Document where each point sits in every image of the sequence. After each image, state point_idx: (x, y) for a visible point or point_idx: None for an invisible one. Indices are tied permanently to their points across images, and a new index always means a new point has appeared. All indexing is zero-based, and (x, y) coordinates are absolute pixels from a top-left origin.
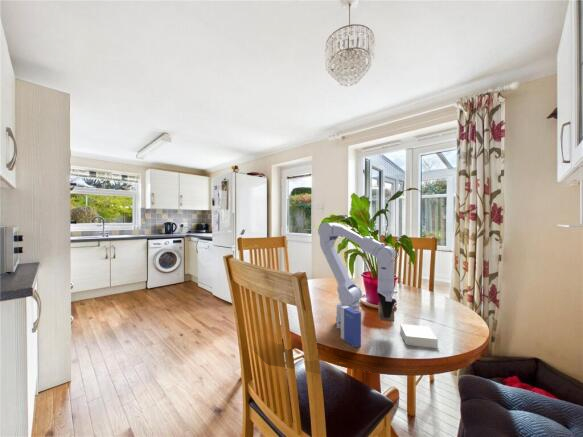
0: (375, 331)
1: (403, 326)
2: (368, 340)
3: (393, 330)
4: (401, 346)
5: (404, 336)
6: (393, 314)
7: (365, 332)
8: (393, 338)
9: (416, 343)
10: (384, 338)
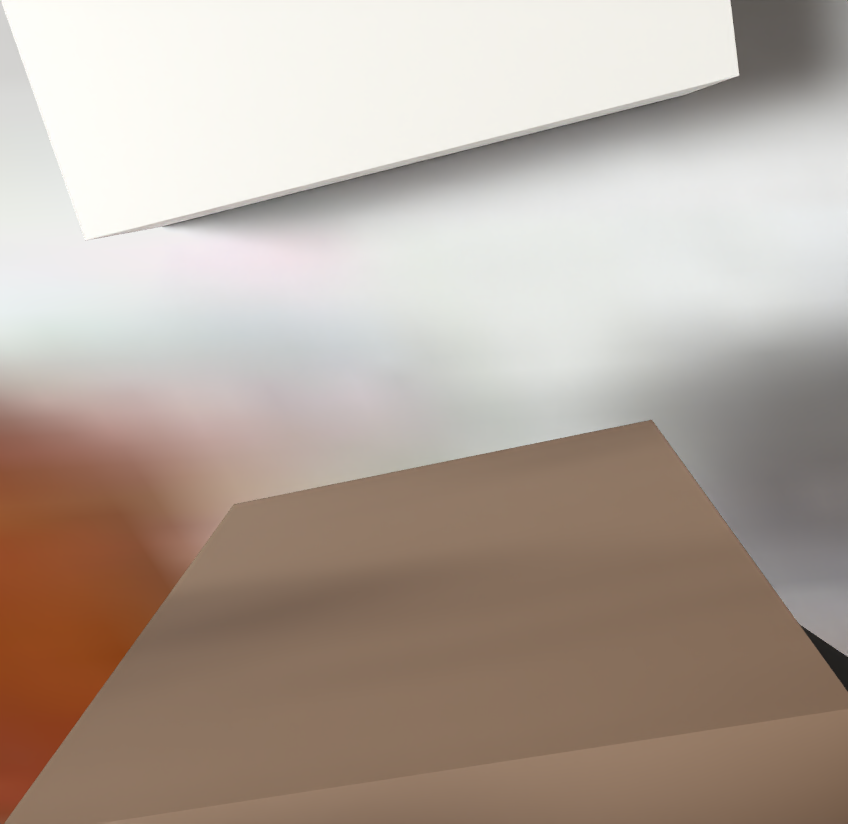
0: None
1: (188, 161)
2: None
3: (168, 354)
4: (791, 175)
5: (552, 125)
6: (722, 548)
7: None
8: (516, 332)
9: None
10: None
